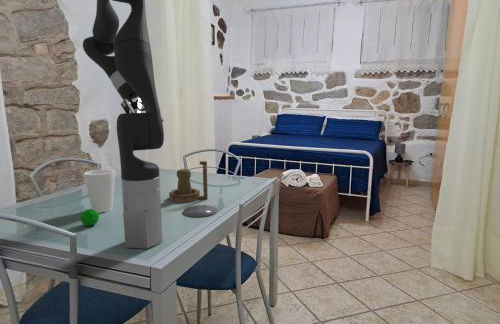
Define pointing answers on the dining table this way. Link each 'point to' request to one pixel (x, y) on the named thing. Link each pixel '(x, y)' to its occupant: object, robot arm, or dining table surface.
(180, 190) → the cork
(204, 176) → the ring stand
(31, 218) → the dining table surface
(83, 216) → the polyhedron
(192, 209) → the slate coaster
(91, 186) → the foam cup
